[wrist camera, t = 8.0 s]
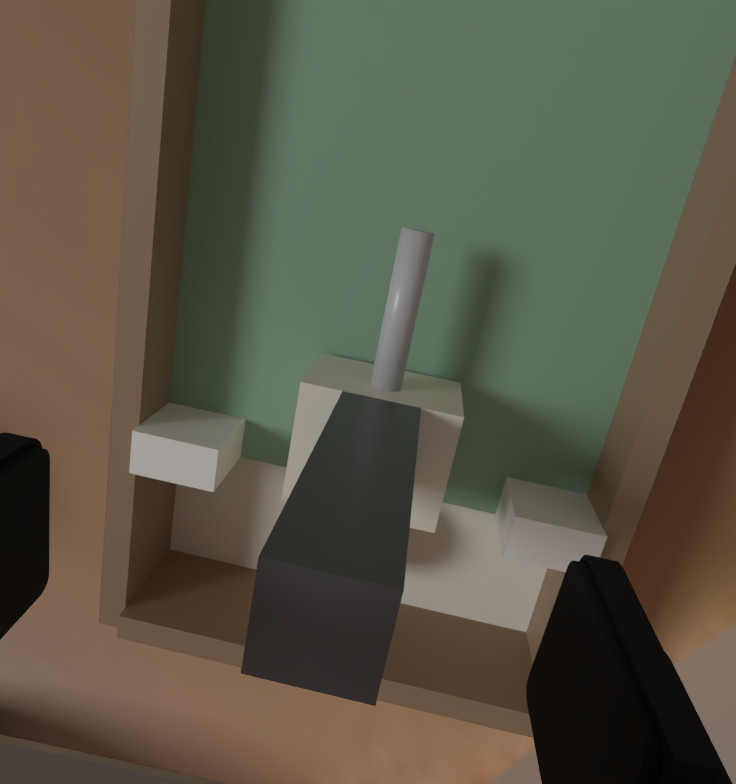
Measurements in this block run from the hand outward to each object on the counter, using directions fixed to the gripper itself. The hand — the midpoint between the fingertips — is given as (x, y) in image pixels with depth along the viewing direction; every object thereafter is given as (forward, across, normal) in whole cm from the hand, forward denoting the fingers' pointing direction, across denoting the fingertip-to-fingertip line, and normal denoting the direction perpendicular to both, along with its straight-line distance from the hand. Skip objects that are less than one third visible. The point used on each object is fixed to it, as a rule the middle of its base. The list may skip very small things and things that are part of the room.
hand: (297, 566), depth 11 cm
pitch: (+14, -1, -1) cm, 14 cm away
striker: (+12, -1, -1) cm, 12 cm away
